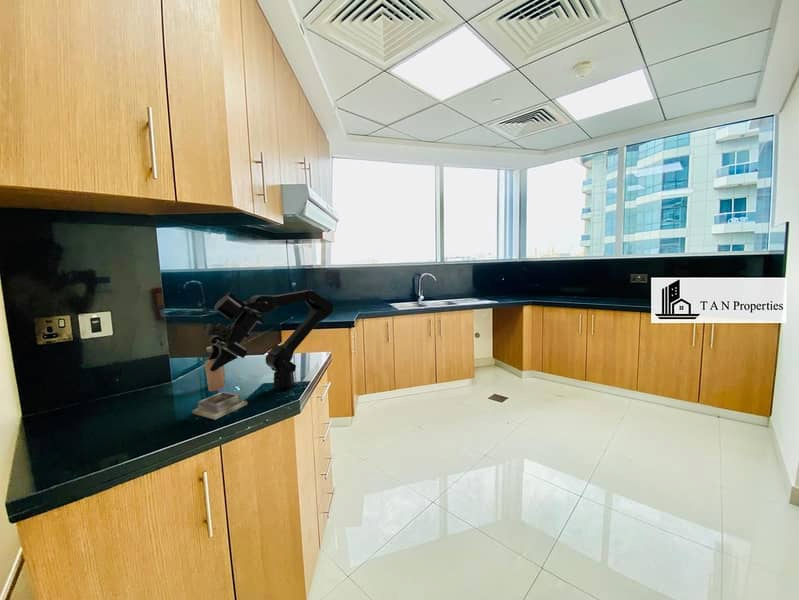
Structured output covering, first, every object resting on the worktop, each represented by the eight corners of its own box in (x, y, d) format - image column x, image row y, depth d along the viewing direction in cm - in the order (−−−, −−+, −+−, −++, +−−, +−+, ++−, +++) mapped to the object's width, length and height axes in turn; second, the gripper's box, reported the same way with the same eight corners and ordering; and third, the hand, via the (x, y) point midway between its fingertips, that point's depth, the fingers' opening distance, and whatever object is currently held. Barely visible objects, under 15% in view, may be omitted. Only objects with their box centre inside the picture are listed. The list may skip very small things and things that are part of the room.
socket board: (225, 399, 110) (224, 389, 110) (247, 404, 105) (246, 394, 105) (192, 413, 101) (191, 402, 100) (215, 419, 96) (213, 408, 95)
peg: (215, 385, 105) (211, 358, 104) (227, 385, 104) (223, 358, 103) (205, 391, 101) (201, 362, 99) (217, 391, 100) (213, 362, 99)
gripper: (211, 311, 109) (177, 351, 102) (231, 315, 96) (193, 361, 89) (238, 329, 115) (208, 368, 109) (260, 335, 102) (228, 380, 96)
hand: (208, 369), depth 101 cm, fingers closed on peg, 4 cm apart
